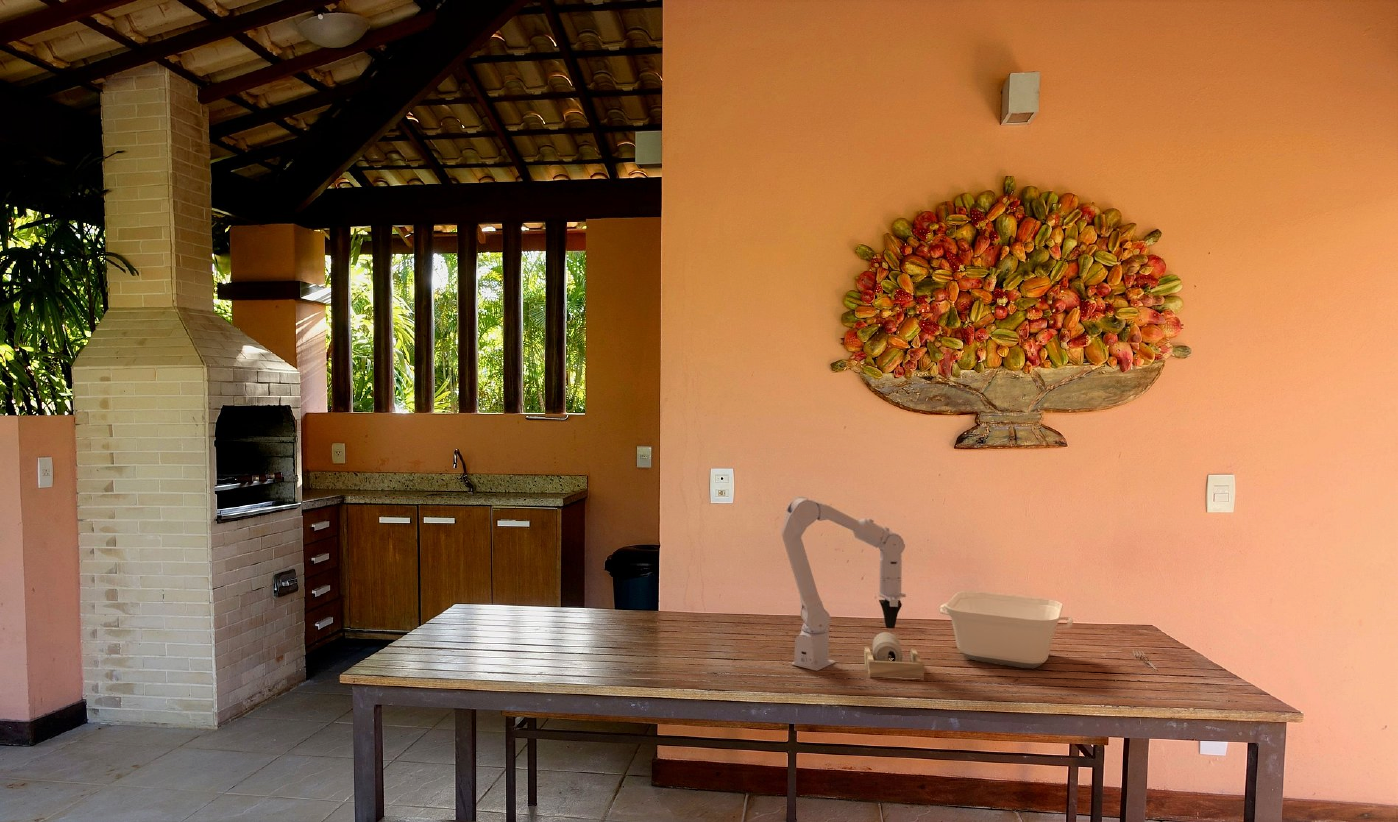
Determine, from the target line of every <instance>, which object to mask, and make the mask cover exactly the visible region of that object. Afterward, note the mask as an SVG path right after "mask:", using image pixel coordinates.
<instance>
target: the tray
mask: <svg viewBox="0 0 1398 822" xmlns="http://www.w3.org/2000/svg"><path fill="white" fill-rule="evenodd" d="M909 652H910V653H909V657H910V658H909V659H910V661H902V662H894V661H874V658H873V653H871V650H870V647H869V646H865V645H864V646H863V663H864V662H865V663H864V666H865V665H866V666H865V669H866V668H867V669H866V672H867V671H868V672H867V674H869V675H868V677H902V678H920V679H924V680H925V663H924V662H923V660H922V658H921V656H920V655H919V653H918V651H917V650H916V648H914V647H913V648H911V647H910V649H909Z"/></svg>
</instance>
